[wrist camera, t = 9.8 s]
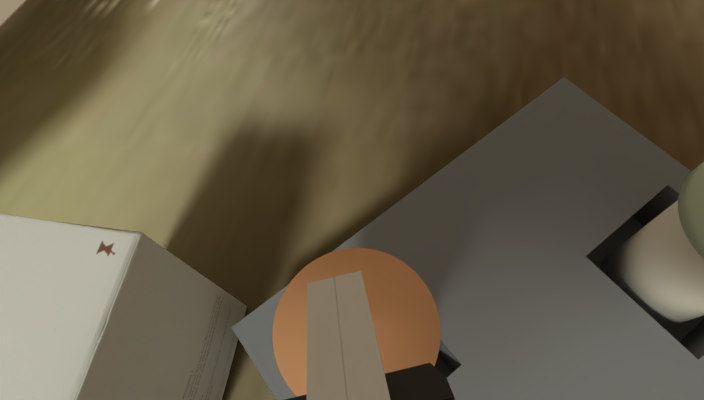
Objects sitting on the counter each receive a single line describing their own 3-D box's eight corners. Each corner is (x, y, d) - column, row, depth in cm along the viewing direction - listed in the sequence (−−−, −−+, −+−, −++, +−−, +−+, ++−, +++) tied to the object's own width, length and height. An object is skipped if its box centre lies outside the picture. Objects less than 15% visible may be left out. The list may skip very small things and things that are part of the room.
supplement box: (141, 285, 29) (-28, 200, 17) (251, 305, 28) (146, 228, 16) (92, 412, 26) (-150, 407, 14) (212, 440, 25) (51, 460, 13)
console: (259, 342, 27) (231, 327, 22) (540, 125, 31) (563, 76, 26) (448, 636, 20) (462, 698, 16) (767, 311, 25) (848, 287, 20)
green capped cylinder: (566, 278, 25) (661, 198, 16) (634, 218, 26) (760, 112, 17) (654, 362, 23) (822, 326, 14) (724, 293, 24) (923, 217, 15)
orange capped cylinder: (300, 352, 25) (241, 314, 16) (380, 288, 26) (368, 218, 17) (363, 444, 23) (338, 463, 13) (447, 371, 24) (477, 342, 15)
